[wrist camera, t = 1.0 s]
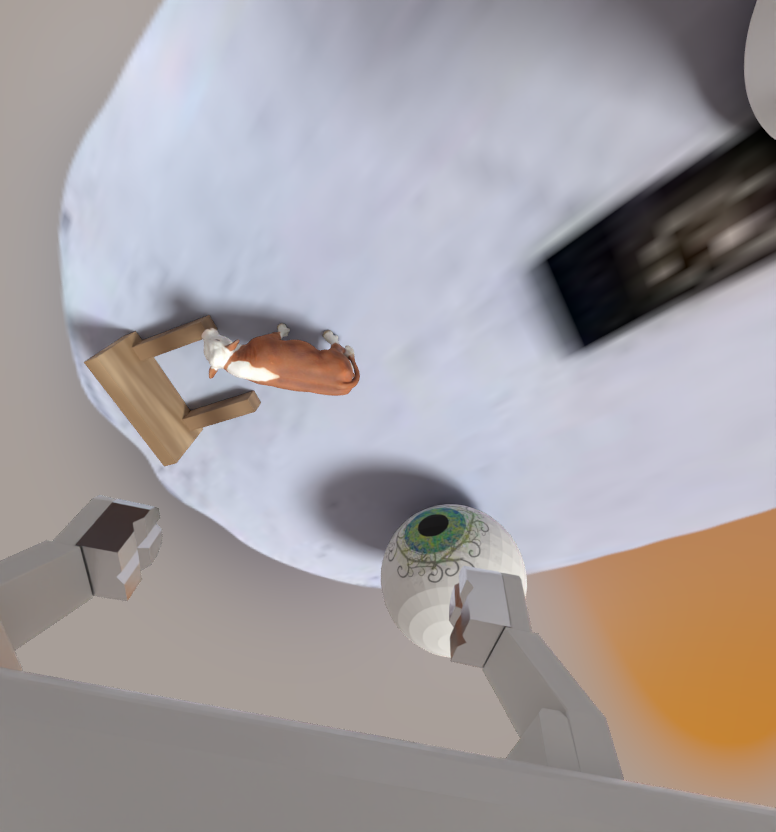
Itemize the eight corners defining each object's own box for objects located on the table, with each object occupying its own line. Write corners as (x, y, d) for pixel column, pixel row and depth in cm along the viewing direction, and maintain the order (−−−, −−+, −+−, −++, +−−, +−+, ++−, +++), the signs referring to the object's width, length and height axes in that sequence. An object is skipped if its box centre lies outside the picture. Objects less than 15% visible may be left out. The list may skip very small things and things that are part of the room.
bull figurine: (229, 299, 42) (188, 332, 35) (371, 338, 43) (358, 379, 36) (226, 341, 44) (187, 381, 37) (361, 378, 45) (346, 423, 38)
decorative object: (514, 470, 49) (540, 589, 37) (517, 565, 57) (539, 690, 44) (377, 480, 52) (357, 594, 39) (398, 569, 59) (386, 688, 47)
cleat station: (203, 305, 42) (171, 329, 37) (265, 410, 48) (245, 443, 43) (123, 335, 45) (83, 362, 40) (191, 432, 51) (164, 466, 46)
